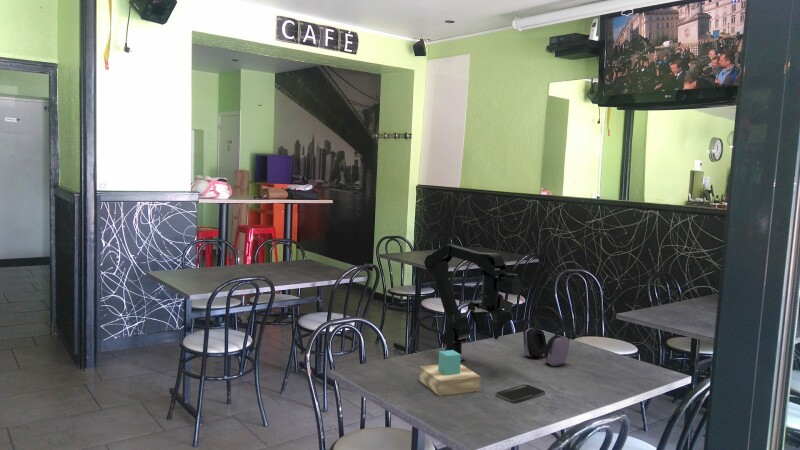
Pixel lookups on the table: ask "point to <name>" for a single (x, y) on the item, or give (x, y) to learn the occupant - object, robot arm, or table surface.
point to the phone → (520, 393)
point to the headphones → (537, 344)
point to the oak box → (449, 380)
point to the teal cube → (449, 362)
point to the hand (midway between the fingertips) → (488, 335)
